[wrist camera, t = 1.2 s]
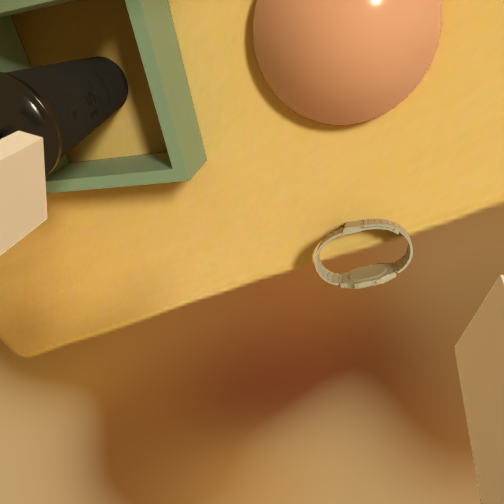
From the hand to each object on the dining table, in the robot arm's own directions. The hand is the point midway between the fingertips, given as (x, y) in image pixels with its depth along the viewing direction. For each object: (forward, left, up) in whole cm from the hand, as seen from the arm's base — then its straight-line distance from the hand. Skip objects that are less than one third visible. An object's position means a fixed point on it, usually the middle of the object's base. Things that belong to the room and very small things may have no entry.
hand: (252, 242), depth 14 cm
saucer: (-2, +1, -30) cm, 30 cm away
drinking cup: (-1, -21, -30) cm, 37 cm away
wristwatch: (+17, +1, -30) cm, 35 cm away
